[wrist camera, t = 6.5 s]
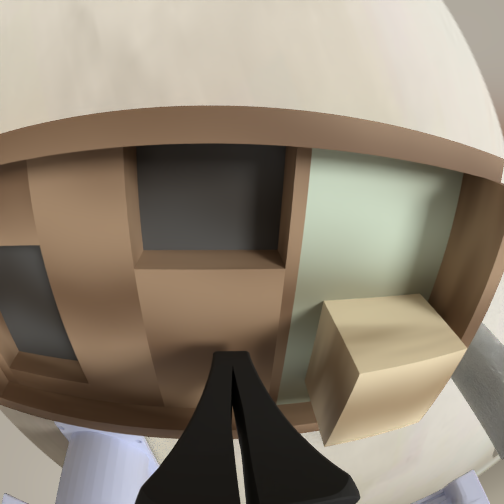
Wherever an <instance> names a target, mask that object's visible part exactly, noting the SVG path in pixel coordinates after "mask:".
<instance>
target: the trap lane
mask: <svg viewBox="0 0 504 504" xmlns="http://www.w3.org/2000/svg"><path fill="white" fill-rule="evenodd" d="M503 167H504V159H503V158H500V157H498V156H495V155H492V154H490V153H487V152H484V151H481V150H479V149H476V148H473V147H470V146H467V145H464V144H461V143H458V142H454V141H451V140H448V139H444V138H441V137H438V136H434V135H430V134H427V133H423V132H419V131H415V130H411V129H407V128H403V127H398V126H394V125H389V124H385V123H380V122H375V121H370V120H364V119H359V118H353V117H347V116H340V115H334V114H327V113H319V112H311V111H302V110H292V109H280V108H267V107H248V106H172V107H154V108H141V109H130V110H120V111H112V112H104V113H96V114H89V115H83V116H77V117H71V118H66V119H60V120H55V121H50V122H46V123H41V124H37V125H32V126H28V127H24V128H20V129H16V130H13V131H9V132H5V133H2V134H0V405H3V406H6V407H9V408H11V409H14V410H18V411H21V412H24V413H27V414H30V415H34V416H37V417H41V418H45V419H48V420H52V421H56V422H61V423H65V424H69V425H74V426H79V427H84V428H89V429H94V430H100V431H106V432H113V433H120V434H128V435H137V436H147V437H159V438H175V439H179V438H180V437H181V435H182V433H183V432H184V430H185V428H186V427H187V425H188V423H189V421H190V419H191V417H192V415H193V413H194V411H195V409H196V407H197V405H198V402H199V400H200V398H201V395H202V393H203V390H204V387H205V384H206V382H207V379H208V375H209V372H210V368H211V364H212V358H213V353H214V352H215V351H248V352H249V354H250V357H251V360H252V362H253V365H254V367H255V369H256V371H257V373H258V375H259V377H260V379H261V381H262V383H263V384H264V386H265V388H266V390H267V391H268V393H269V395H270V396H271V398H272V399H273V401H274V402H275V404H276V405H277V407H278V408H279V409H280V411H281V412H282V413H283V415H284V416H285V417H286V418H287V420H288V421H289V422H290V423H291V424H292V426H293V427H294V428H295V429H296V430H297V431H298V432H299V433H306V432H313V431H319V427H318V424H317V420H316V417H315V414H314V410H313V407H312V404H311V400H310V397H309V394H308V390H307V387H306V384H305V377H306V373H307V369H308V365H309V362H310V358H311V354H312V350H313V345H314V341H315V337H316V333H317V328H318V324H319V320H320V315H321V310H322V306H323V301H327V300H344V299H360V298H374V297H386V296H398V295H409V294H421V295H422V296H423V297H424V298H425V300H426V301H427V302H428V303H429V304H430V305H431V306H432V307H433V308H434V310H435V311H436V312H437V313H438V314H439V315H440V316H441V317H442V319H443V320H444V321H445V322H446V323H447V324H448V326H449V327H450V328H451V329H452V330H453V331H454V333H455V334H456V335H457V336H458V337H459V339H460V340H461V341H462V342H463V343H464V345H465V346H466V347H467V349H468V347H469V345H470V344H471V342H472V340H473V338H474V336H475V334H476V332H477V330H478V329H479V327H480V325H481V323H482V321H483V318H484V316H485V314H486V312H487V310H488V308H489V306H490V303H491V301H492V299H493V297H494V294H495V292H496V290H497V287H498V285H499V282H500V280H501V277H502V275H503V272H504V184H503V183H501V178H502V173H503ZM466 351H467V350H466ZM465 353H466V352H465ZM463 356H464V355H463ZM462 358H463V357H462ZM461 360H462V359H461ZM459 363H460V362H459ZM458 365H459V364H458ZM456 368H457V367H456ZM454 371H455V370H454ZM453 373H454V372H453ZM451 376H452V375H451ZM449 379H450V378H449ZM448 381H449V380H448ZM446 384H447V383H446ZM444 387H445V386H444ZM442 390H443V389H442ZM440 393H441V392H440ZM440 393H439V394H440ZM437 397H438V396H437ZM435 400H436V399H435ZM433 403H434V402H433ZM433 403H432V404H433ZM430 407H431V406H430ZM427 411H428V410H427ZM424 415H425V414H424ZM421 419H422V418H421ZM232 436H233V439H239V438H238V433H237V428H236V423H235V417H234V412H233V406H232Z"/></svg>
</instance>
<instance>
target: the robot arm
mask: <svg viewBox="0 0 504 504" xmlns="http://www.w3.org/2000/svg"><path fill="white" fill-rule="evenodd" d="M232 406H233V412H234V417H235V423H236V428H237V433H238V438H239V444H240V449H241V455H242V464H243V475H244V485H245V496H246V504H356V503H357V502H358V501H359V499H360V494H359V491H358V489H357V487H356V485H355V483H354V481H353V479H352V478H351V476H350V475H349V474H348V473H346V472H345V471H343V470H342V469H340V468H339V467H337V466H336V465H335V464H333V463H332V462H331V461H329V460H328V459H327V458H326V457H324V456H323V455H322V454H321V453H319V452H318V451H317V450H316V449H315V448H314V447H313V446H312V445H311V444H310V443H309V442H308V441H307V440H306V439H304V438H303V437H302V436H301V434H300V433H299V432H298V431H297V430H296V429H295V428H294V427H293V426H292V424H291V423H290V422H289V421H288V420H287V418H286V417H285V416H284V415H283V413H282V412H281V411H280V409H279V408H278V407H277V405H276V404H275V402H274V401H273V399H272V398H271V396H270V395H269V393H268V391H267V390H266V388H265V386H264V384H263V383H262V381H261V379H260V377H259V375H258V373H257V371H256V369H255V367H254V365H253V362H252V360H251V357H250V354H249V352H248V351H215V352H214V353H213V358H212V364H211V368H210V372H209V375H208V379H207V382H206V384H205V387H204V390H203V393H202V395H201V398H200V400H199V402H198V405H197V407H196V409H195V411H194V413H193V415H192V417H191V419H190V421H189V423H188V425H187V427H186V428H185V430H184V432H183V433H182V435H181V437H180V438H179V440H178V441H177V443H176V445H175V446H174V448H173V449H172V450H171V452H170V453H169V454H168V456H167V457H166V458H165V460H164V461H163V462H162V464H161V465H160V466H159V464H158V462H157V460H156V458H155V457H154V455H153V453H152V451H151V449H150V447H149V445H148V443H147V441H146V439H145V437H144V436H137V435H128V434H120V433H113V432H106V431H100V430H94V429H89V428H84V427H79V426H74V425H69V424H65V423H61V422H56V421H54V423H55V425H56V426H57V427H58V428H59V430H60V431H61V432H62V434H63V435H64V436H65V437H66V438H67V440H68V441H69V445H68V449H67V452H66V456H65V460H64V465H63V469H62V473H61V477H60V482H59V487H58V492H57V497H56V503H55V504H240V497H239V489H238V481H237V473H236V464H235V456H234V446H233V436H232ZM2 504H28V503H26V502H24V501H21V500H19V499H17V498H15V497H13V496H10V495H9V494H7V493H4V496H3V500H2ZM411 504H490V502H489V500H488V498H487V496H486V494H485V492H484V490H483V487H482V485H481V483H480V481H479V479H478V477H477V475H476V473H475V471H474V470H470V471H469V472H467V473H465V474H464V475H462V476H460V477H458V478H457V479H455V480H453V481H452V482H450V483H449V484H447V485H446V486H445V487H444V488H443V489H441V490H439V491H437V492H435V493H433V494H431V495H429V496H427V497H425V498H422V499H420V500H418V501H416V502H414V503H411Z"/></svg>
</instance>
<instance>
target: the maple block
mask: <svg viewBox="0 0 504 504" xmlns="http://www.w3.org/2000/svg"><path fill="white" fill-rule="evenodd" d="M466 350H467V347H466V346H465V345H464V343H463V342H462V341H461V340H460V339H459V337H458V336H457V335H456V334H455V333H454V331H453V330H452V329H451V328H450V327H449V326H448V324H447V323H446V322H445V321H444V320H443V319H442V317H441V316H440V315H439V314H438V313H437V312H436V311H435V310H434V308H433V307H432V306H431V305H430V304H429V303H428V302H427V301H426V300H425V298H424V297H423V296H422V295H421V294H409V295H398V296H386V297H374V298H360V299H344V300H327V301H323V306H322V310H321V315H320V320H319V324H318V328H317V333H316V337H315V341H314V345H313V350H312V354H311V358H310V362H309V365H308V369H307V373H306V377H305V384H306V387H307V390H308V394H309V397H310V400H311V404H312V407H313V410H314V414H315V417H316V420H317V424H318V427H319V430H320V434H321V437H322V441H323V444H324V447H326V446H331V445H336V444H341V443H346V442H351V441H355V440H359V439H363V438H367V437H371V436H375V435H379V434H382V433H386V432H389V431H393V430H396V429H399V428H402V427H405V426H408V425H411V424H414V423H417V422H419V421H420V420H421V418H422V417H423V416H424V414H425V413H426V412H427V410H428V409H429V408H430V406H431V405H432V403H433V402H434V401H435V399H436V398H437V396H438V395H439V393H440V392H441V391H442V389H443V388H444V386H445V385H446V383H447V382H448V380H449V378H450V377H451V375H452V374H453V372H454V370H455V369H456V367H457V366H458V364H459V362H460V361H461V359H462V357H463V355H464V354H465V352H466Z"/></svg>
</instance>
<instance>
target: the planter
mask: <svg viewBox="0 0 504 504" xmlns="http://www.w3.org/2000/svg"><path fill="white" fill-rule="evenodd" d="M451 378H452V380H453V381H454V383H455V384H456V386H457V387H458V389H459V390H460V392H461V393H462V395H463V396H464V398H465V399H466V401H467V402H468V404H469V406H470V407H471V409H472V410H473V412H474V413H475V415H476V417H477V418H478V420H479V421H480V423H481V425H482V426H483V428H484V430H485V431H486V433H487V435H488V436H489V438H490V440H491V442H492V443H493V445H494V447H495V449H496V450H497V452H498V454H499V456H500V458H501V459H504V346H503V345H502V344H501V343H500V341H499V340H498V339H497V338H496V337H495V336H494V335H493V334H492V332H491V331H490V330H489V329H488V328H487V327H486V326H485V325H484V324H483V323H481V325H480V327H479V329H478V330H477V332H476V334H475V336H474V338H473V340H472V342H471V344H470V345H469V347H468V349H467V351H466V353H465V354H464V356H463V358H462V360H461V361H460V363H459V365H458V366H457V368H456V369H455V371H454V373H453V374H452V376H451Z"/></svg>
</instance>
